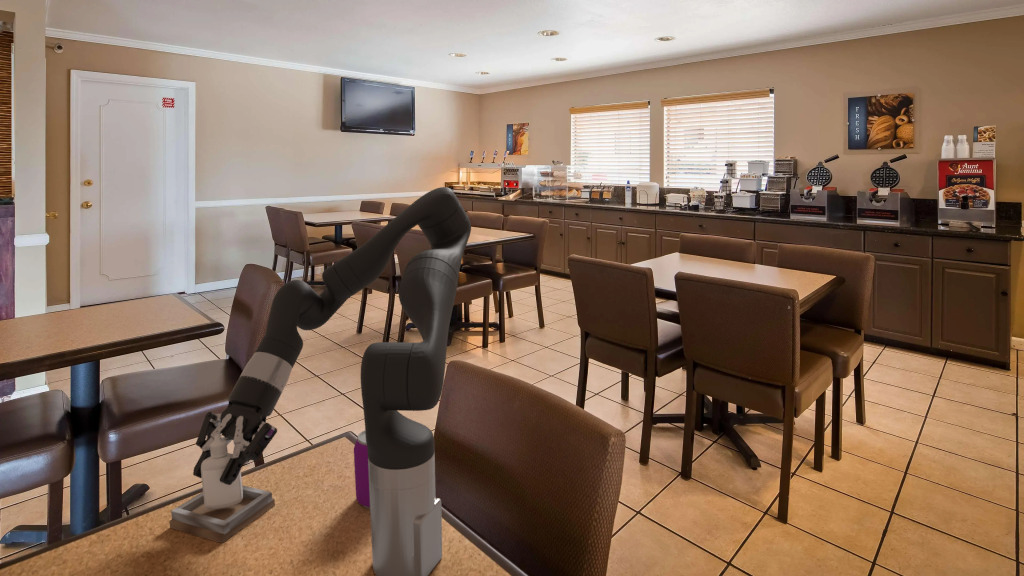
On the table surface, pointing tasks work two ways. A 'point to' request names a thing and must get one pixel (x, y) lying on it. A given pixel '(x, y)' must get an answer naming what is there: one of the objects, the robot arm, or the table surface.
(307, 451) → the table surface
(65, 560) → the table surface
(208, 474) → the eye dropper bottle
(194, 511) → the grey square tray
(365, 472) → the beverage can
